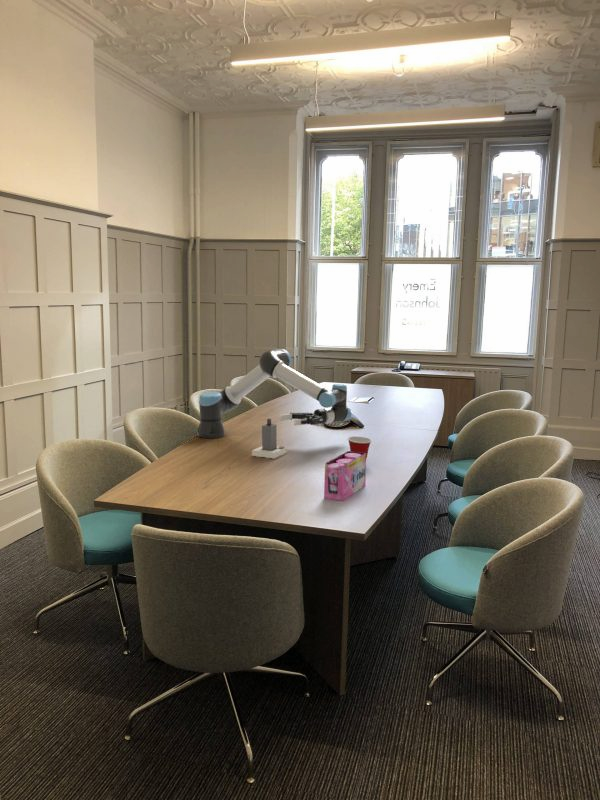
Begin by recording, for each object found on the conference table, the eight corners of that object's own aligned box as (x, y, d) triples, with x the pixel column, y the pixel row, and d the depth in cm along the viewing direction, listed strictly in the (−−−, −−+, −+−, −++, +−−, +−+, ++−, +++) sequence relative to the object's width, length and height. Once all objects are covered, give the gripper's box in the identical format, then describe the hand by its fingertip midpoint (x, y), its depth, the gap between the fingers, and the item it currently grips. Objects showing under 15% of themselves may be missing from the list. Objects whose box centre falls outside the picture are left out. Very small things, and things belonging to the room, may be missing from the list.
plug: (262, 454, 301) (261, 419, 298) (267, 452, 305) (267, 417, 302) (271, 455, 298) (271, 420, 296) (276, 453, 303) (276, 418, 300)
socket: (252, 456, 299) (252, 448, 299) (265, 450, 310) (264, 443, 309) (274, 459, 294) (274, 451, 293) (286, 453, 304) (286, 446, 304)
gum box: (341, 502, 232) (341, 466, 230) (321, 499, 236) (321, 464, 233) (366, 485, 253) (366, 452, 250) (347, 482, 256) (348, 450, 254)
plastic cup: (370, 468, 278) (370, 441, 276) (345, 467, 280) (346, 440, 278) (372, 461, 288) (372, 436, 286) (348, 460, 290) (349, 435, 288)
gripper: (337, 428, 310) (300, 432, 298) (309, 419, 330) (274, 423, 319) (337, 413, 308) (301, 417, 297) (310, 405, 329) (274, 408, 318)
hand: (287, 420), depth 308 cm, fingers open, 13 cm apart
